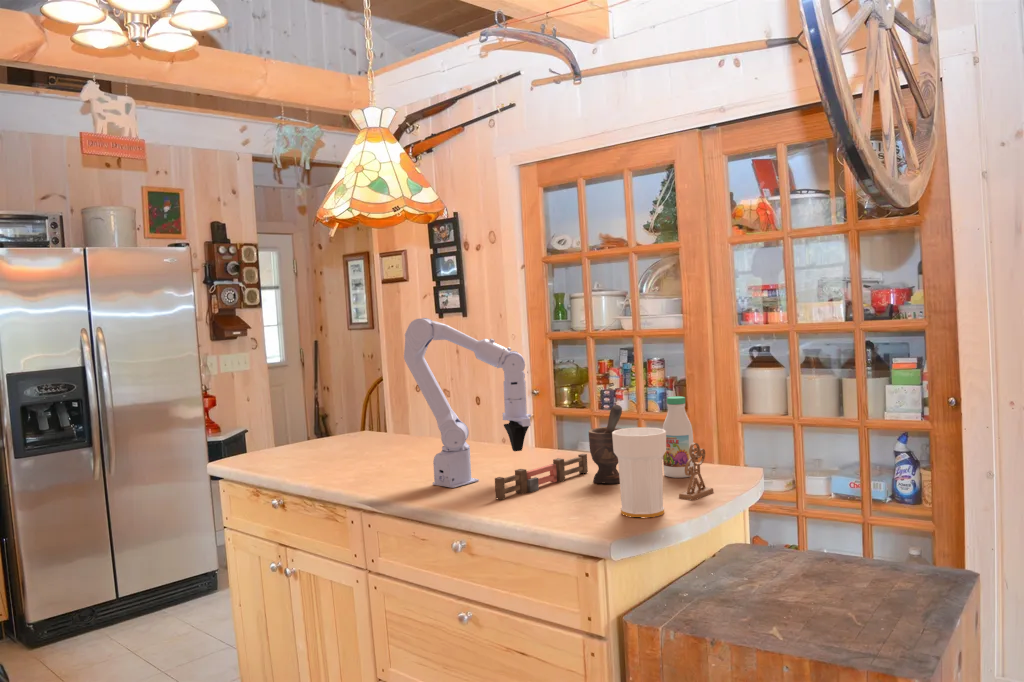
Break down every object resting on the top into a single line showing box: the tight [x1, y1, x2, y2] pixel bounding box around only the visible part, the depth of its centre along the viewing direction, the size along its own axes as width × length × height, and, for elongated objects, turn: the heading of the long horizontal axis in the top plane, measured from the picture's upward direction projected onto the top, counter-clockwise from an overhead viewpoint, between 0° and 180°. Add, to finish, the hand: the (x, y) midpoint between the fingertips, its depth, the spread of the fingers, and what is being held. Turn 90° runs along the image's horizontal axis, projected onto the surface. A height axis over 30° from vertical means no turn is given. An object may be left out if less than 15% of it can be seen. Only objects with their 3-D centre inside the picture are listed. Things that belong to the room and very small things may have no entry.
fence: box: [494, 453, 589, 500], centre depth 200 cm, size 34×3×6 cm, turn 137°
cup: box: [612, 426, 666, 518], centre depth 170 cm, size 11×11×17 cm
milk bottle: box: [662, 396, 695, 479], centre depth 203 cm, size 8×8×20 cm
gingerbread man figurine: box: [678, 442, 714, 501], centre depth 182 cm, size 9×4×12 cm, turn 136°
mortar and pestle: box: [588, 404, 623, 485], centre depth 199 cm, size 12×9×20 cm
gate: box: [526, 463, 558, 486], centre depth 199 cm, size 11×1×4 cm, turn 138°
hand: (517, 450), depth 208 cm, fingers closed
